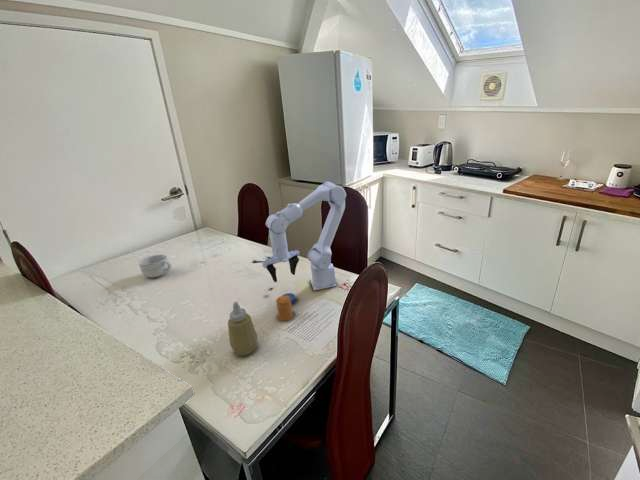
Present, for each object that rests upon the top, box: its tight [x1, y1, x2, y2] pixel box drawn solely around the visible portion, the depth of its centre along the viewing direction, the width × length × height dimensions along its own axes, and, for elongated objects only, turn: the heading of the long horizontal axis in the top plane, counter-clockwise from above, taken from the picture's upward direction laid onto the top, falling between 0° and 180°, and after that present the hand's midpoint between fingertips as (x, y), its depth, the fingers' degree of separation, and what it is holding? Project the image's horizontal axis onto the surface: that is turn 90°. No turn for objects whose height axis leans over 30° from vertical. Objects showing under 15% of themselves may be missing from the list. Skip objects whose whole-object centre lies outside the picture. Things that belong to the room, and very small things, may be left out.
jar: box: [275, 295, 294, 322], centre depth 113 cm, size 5×5×8 cm
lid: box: [281, 292, 297, 305], centre depth 123 cm, size 6×6×2 cm
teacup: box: [137, 254, 172, 279], centre depth 142 cm, size 14×11×8 cm
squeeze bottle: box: [227, 301, 258, 356], centre depth 96 cm, size 8×8×18 cm
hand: (284, 277), depth 122 cm, fingers open, 7 cm apart
